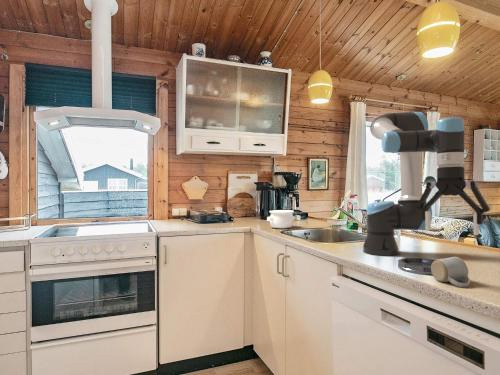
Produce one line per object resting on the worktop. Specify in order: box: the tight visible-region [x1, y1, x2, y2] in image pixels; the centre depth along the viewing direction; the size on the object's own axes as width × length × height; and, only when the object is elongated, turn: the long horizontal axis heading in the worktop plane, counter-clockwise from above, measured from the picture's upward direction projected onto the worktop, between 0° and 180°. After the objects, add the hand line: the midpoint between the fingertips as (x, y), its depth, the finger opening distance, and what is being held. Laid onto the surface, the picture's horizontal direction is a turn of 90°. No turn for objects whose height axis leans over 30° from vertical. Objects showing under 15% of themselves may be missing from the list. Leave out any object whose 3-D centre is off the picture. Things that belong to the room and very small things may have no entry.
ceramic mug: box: [431, 256, 471, 288], centre depth 104 cm, size 11×8×8 cm
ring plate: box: [397, 256, 437, 276], centre depth 120 cm, size 17×17×2 cm
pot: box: [266, 209, 296, 229], centre depth 235 cm, size 22×17×12 cm
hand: (450, 232), depth 104 cm, fingers open, 13 cm apart
